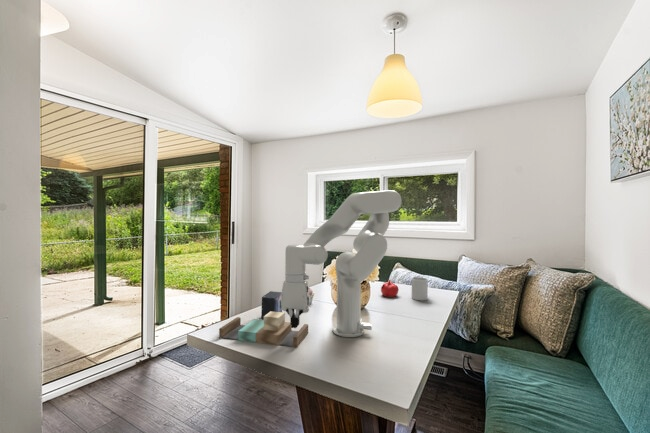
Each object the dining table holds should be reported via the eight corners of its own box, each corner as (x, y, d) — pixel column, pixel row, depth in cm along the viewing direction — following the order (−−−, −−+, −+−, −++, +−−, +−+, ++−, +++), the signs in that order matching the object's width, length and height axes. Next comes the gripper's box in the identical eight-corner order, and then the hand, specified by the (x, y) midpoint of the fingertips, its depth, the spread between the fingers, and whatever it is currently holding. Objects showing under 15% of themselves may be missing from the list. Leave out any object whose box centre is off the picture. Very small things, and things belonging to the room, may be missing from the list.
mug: (424, 301, 163) (424, 281, 163) (408, 298, 169) (409, 279, 168) (431, 296, 173) (432, 277, 173) (417, 294, 178) (417, 275, 178)
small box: (274, 322, 132) (274, 297, 132) (260, 320, 133) (260, 297, 133) (283, 314, 142) (283, 291, 142) (269, 313, 143) (269, 290, 143)
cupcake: (300, 300, 165) (300, 281, 164) (316, 301, 162) (316, 282, 162) (293, 305, 156) (293, 285, 155) (311, 306, 153) (311, 287, 153)
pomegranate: (401, 295, 175) (402, 279, 175) (392, 299, 168) (393, 282, 168) (386, 292, 182) (386, 276, 182) (377, 295, 174) (377, 279, 174)
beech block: (284, 325, 118) (284, 312, 118) (278, 331, 113) (278, 317, 112) (270, 323, 120) (270, 311, 120) (263, 329, 114) (263, 316, 114)
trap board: (308, 333, 120) (308, 324, 120) (297, 347, 107) (297, 337, 107) (237, 325, 127) (237, 317, 127) (219, 337, 115) (219, 328, 115)
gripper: (317, 277, 116) (316, 325, 116) (280, 274, 119) (280, 321, 120) (311, 281, 108) (311, 332, 109) (272, 278, 112) (272, 328, 112)
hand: (294, 326), depth 114 cm, fingers closed
